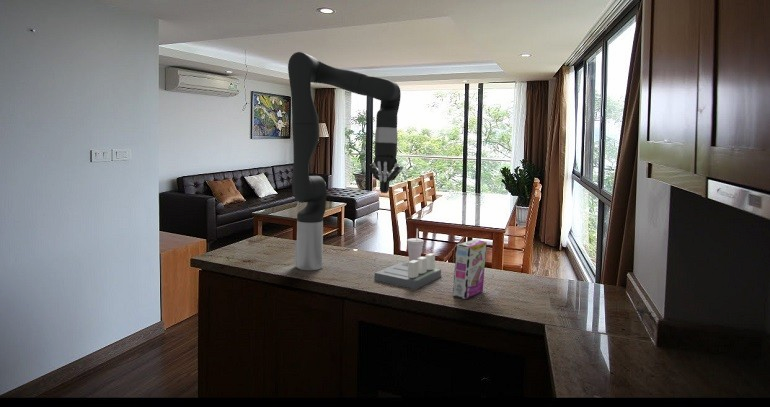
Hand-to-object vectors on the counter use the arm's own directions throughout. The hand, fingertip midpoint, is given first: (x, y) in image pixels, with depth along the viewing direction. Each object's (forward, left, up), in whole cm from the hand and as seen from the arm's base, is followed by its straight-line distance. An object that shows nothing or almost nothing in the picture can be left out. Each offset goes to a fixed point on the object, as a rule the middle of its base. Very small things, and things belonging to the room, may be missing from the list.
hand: (384, 192), depth 160 cm
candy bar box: (+32, 0, -29) cm, 44 cm away
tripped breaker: (+14, -3, -26) cm, 30 cm away
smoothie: (+2, +20, -29) cm, 35 cm away
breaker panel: (+9, +3, -29) cm, 31 cm away
